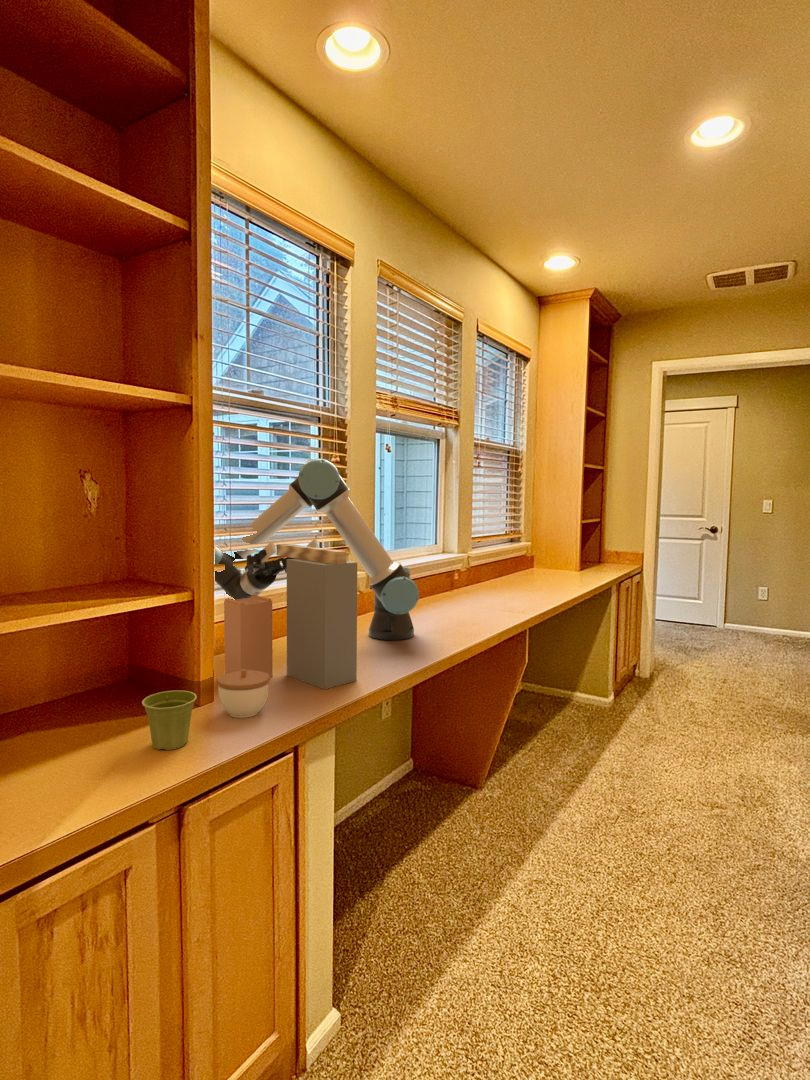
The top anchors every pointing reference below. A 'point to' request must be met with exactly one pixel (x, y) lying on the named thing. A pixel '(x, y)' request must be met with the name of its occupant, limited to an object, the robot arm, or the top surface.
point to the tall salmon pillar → (248, 634)
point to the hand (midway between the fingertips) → (295, 545)
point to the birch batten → (312, 553)
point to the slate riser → (322, 622)
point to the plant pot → (169, 718)
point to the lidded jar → (243, 692)
